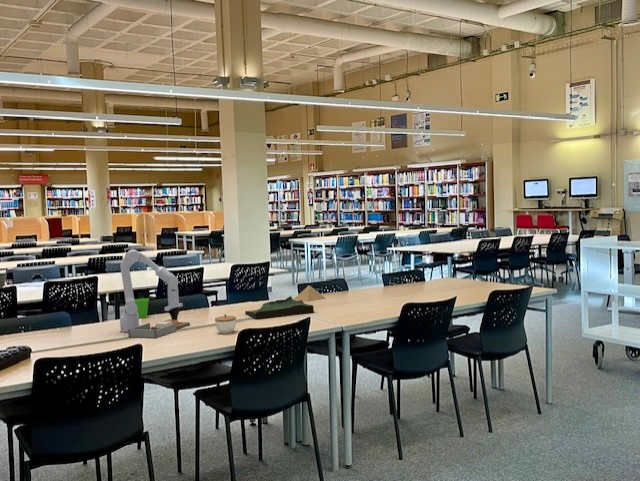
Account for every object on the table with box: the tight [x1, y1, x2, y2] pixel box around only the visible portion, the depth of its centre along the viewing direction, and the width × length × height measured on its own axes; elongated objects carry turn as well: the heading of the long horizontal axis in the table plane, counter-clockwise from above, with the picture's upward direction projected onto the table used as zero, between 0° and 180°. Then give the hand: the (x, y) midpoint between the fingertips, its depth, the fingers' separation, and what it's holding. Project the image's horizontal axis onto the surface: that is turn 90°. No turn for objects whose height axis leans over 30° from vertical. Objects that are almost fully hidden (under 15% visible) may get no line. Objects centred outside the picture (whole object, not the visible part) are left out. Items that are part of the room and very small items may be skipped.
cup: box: [134, 298, 150, 319], centre depth 365 cm, size 9×9×11 cm
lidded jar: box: [214, 313, 237, 335], centre depth 311 cm, size 11×11×9 cm
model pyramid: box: [292, 285, 327, 303], centre depth 412 cm, size 17×17×10 cm
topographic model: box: [244, 295, 315, 321], centre depth 360 cm, size 36×22×10 cm, turn 113°
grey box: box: [127, 322, 177, 339], centre depth 315 cm, size 17×17×4 cm
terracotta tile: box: [163, 318, 179, 325], centre depth 330 cm, size 6×6×2 cm
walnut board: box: [150, 321, 191, 331], centre depth 330 cm, size 14×16×2 cm
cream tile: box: [155, 320, 172, 328], centre depth 324 cm, size 6×6×2 cm
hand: (174, 321), depth 334 cm, fingers closed
